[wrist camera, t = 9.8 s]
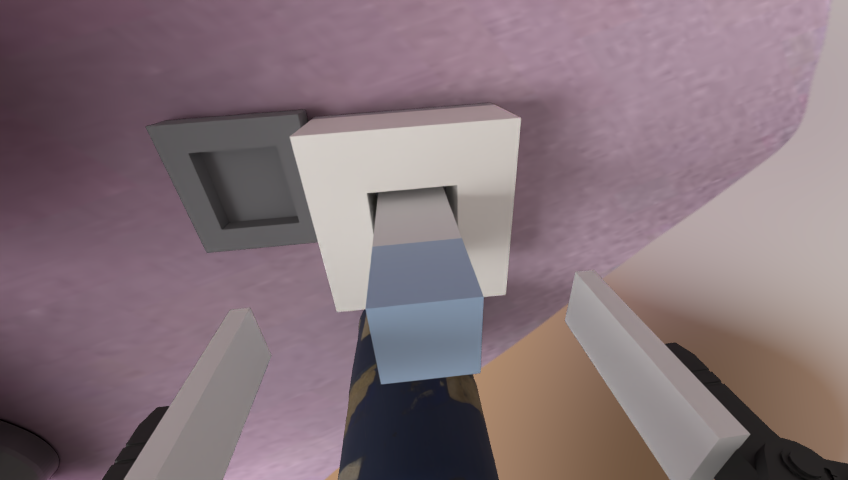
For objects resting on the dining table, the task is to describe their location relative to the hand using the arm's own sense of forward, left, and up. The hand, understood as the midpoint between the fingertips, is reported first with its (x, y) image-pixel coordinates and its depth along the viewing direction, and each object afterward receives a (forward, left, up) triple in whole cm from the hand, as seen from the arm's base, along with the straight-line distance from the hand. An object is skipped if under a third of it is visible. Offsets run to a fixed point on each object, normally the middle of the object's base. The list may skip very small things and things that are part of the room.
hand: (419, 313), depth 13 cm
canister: (-1, -13, -13) cm, 19 cm away
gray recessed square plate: (-11, +2, -13) cm, 17 cm away
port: (0, 0, -13) cm, 13 cm away
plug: (0, 0, -12) cm, 12 cm away
